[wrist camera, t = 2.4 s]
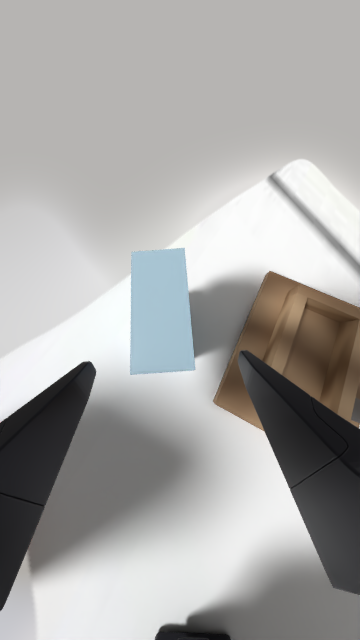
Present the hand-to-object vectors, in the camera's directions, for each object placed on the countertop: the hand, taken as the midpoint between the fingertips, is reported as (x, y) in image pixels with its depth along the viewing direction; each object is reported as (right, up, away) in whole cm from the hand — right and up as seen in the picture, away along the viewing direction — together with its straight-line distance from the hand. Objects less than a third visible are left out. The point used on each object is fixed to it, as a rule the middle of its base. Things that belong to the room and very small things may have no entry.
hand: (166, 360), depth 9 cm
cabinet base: (+15, -2, +9) cm, 18 cm away
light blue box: (0, +1, +10) cm, 10 cm away
